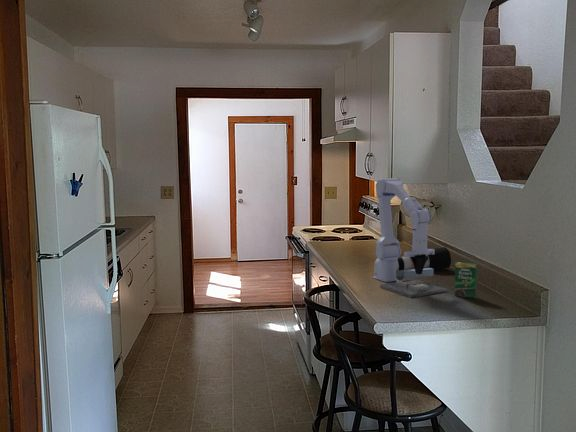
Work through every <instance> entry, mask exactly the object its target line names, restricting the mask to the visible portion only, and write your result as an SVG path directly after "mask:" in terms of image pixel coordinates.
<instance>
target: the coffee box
mask: <svg viewBox="0 0 576 432" xmlns="http://www.w3.org/2000/svg"><path fill="white" fill-rule="evenodd" d="M454 267H455V268H454V297H459V296H460V297H461V298H469V299H476V298H477V292H478V291H477V289H478V286H477V285H478V284H477V283H478V263H470V262H469V263H468V262H458V261H456V262H455V263H454Z"/></svg>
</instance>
